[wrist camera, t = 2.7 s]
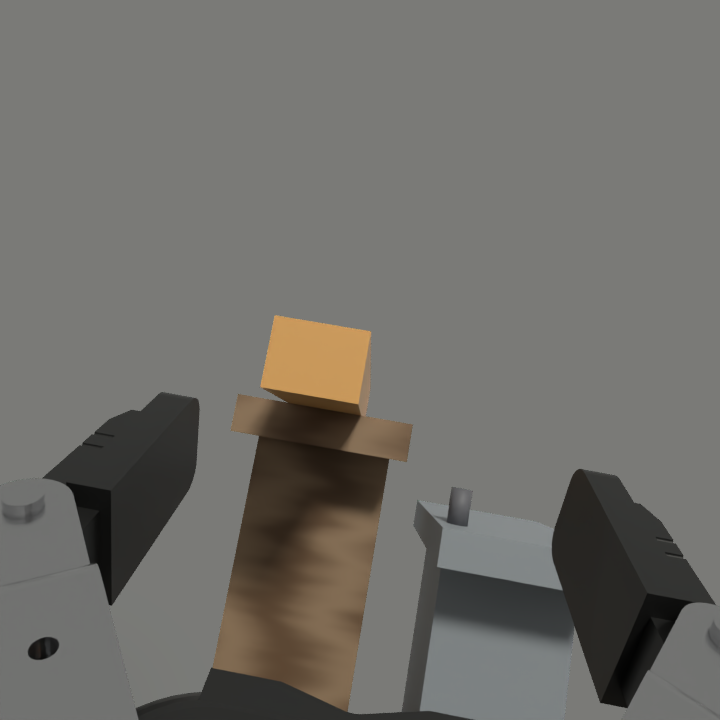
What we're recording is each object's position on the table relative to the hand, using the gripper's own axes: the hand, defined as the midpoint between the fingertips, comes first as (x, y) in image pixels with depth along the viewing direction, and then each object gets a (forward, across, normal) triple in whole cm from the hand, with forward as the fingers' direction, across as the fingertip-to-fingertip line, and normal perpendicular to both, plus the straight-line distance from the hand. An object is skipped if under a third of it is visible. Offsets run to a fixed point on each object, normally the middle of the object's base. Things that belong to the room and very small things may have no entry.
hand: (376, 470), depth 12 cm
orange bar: (+20, +3, +9) cm, 22 cm away
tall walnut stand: (+8, +2, +39) cm, 40 cm away
